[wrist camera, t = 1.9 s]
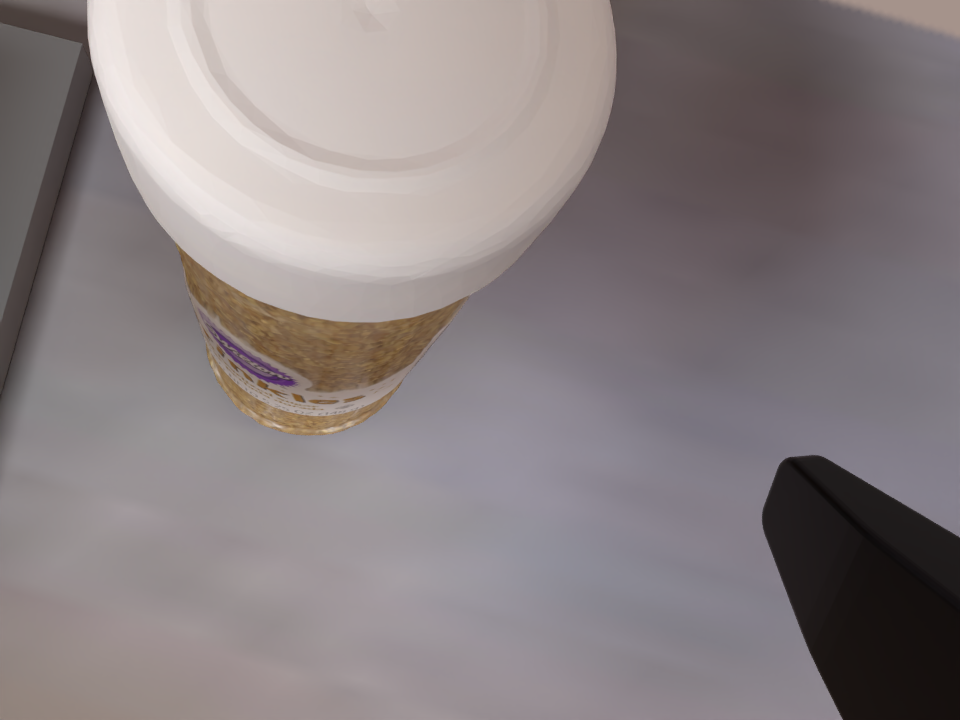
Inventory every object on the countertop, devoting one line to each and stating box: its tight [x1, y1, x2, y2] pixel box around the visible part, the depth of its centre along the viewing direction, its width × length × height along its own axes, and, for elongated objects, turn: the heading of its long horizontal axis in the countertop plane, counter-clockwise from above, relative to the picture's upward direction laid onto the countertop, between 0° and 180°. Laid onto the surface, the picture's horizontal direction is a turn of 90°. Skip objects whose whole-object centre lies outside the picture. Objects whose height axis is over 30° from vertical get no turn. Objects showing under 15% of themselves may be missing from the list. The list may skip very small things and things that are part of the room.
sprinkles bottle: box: [87, 0, 617, 435], centre depth 14 cm, size 5×5×14 cm
